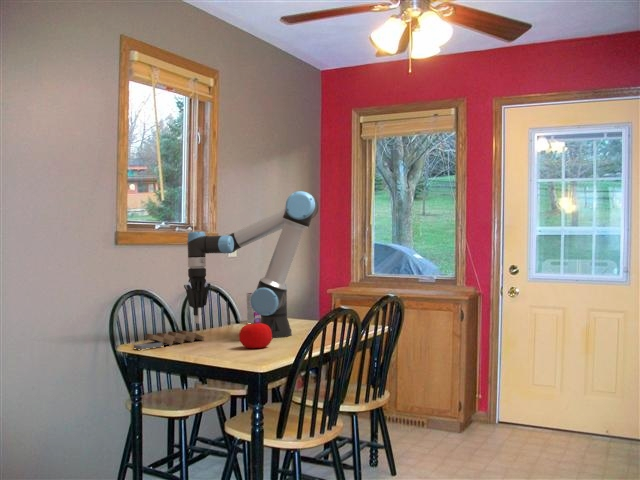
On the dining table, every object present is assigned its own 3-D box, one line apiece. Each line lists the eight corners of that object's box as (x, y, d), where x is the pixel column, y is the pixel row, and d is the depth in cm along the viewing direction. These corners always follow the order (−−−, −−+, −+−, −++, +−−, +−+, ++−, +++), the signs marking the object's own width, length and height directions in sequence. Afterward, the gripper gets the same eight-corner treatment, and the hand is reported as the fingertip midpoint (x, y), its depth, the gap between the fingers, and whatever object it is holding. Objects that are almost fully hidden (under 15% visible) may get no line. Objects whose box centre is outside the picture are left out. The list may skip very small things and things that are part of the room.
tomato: (274, 348, 240) (274, 321, 240) (241, 351, 236) (241, 323, 236) (268, 344, 250) (268, 319, 250) (236, 347, 247) (236, 320, 247)
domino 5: (204, 336, 268) (186, 331, 261) (203, 340, 267) (185, 335, 260) (196, 335, 271) (178, 330, 264) (195, 339, 271) (177, 334, 263)
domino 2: (173, 340, 255) (153, 334, 248) (171, 345, 255) (152, 338, 247) (165, 340, 258) (146, 333, 251) (164, 344, 258) (144, 338, 251)
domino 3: (183, 339, 259) (165, 333, 252) (182, 344, 259) (163, 337, 252) (176, 338, 263) (157, 332, 255) (175, 343, 262) (156, 337, 255)
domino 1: (162, 342, 251) (141, 346, 243) (162, 346, 251) (141, 350, 243) (154, 341, 254) (133, 345, 246) (155, 345, 254) (133, 349, 246)
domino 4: (194, 338, 264) (176, 332, 257) (193, 342, 263) (175, 336, 256) (186, 337, 267) (168, 331, 260) (185, 341, 266) (167, 336, 259)
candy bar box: (260, 322, 332) (259, 291, 333) (267, 322, 330) (266, 291, 330) (246, 324, 323) (246, 292, 323) (254, 325, 320) (253, 293, 320)
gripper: (190, 268, 262) (191, 325, 261) (214, 267, 272) (215, 321, 271) (179, 268, 266) (180, 324, 266) (202, 267, 277) (204, 321, 276)
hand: (198, 322), depth 269 cm, fingers closed
